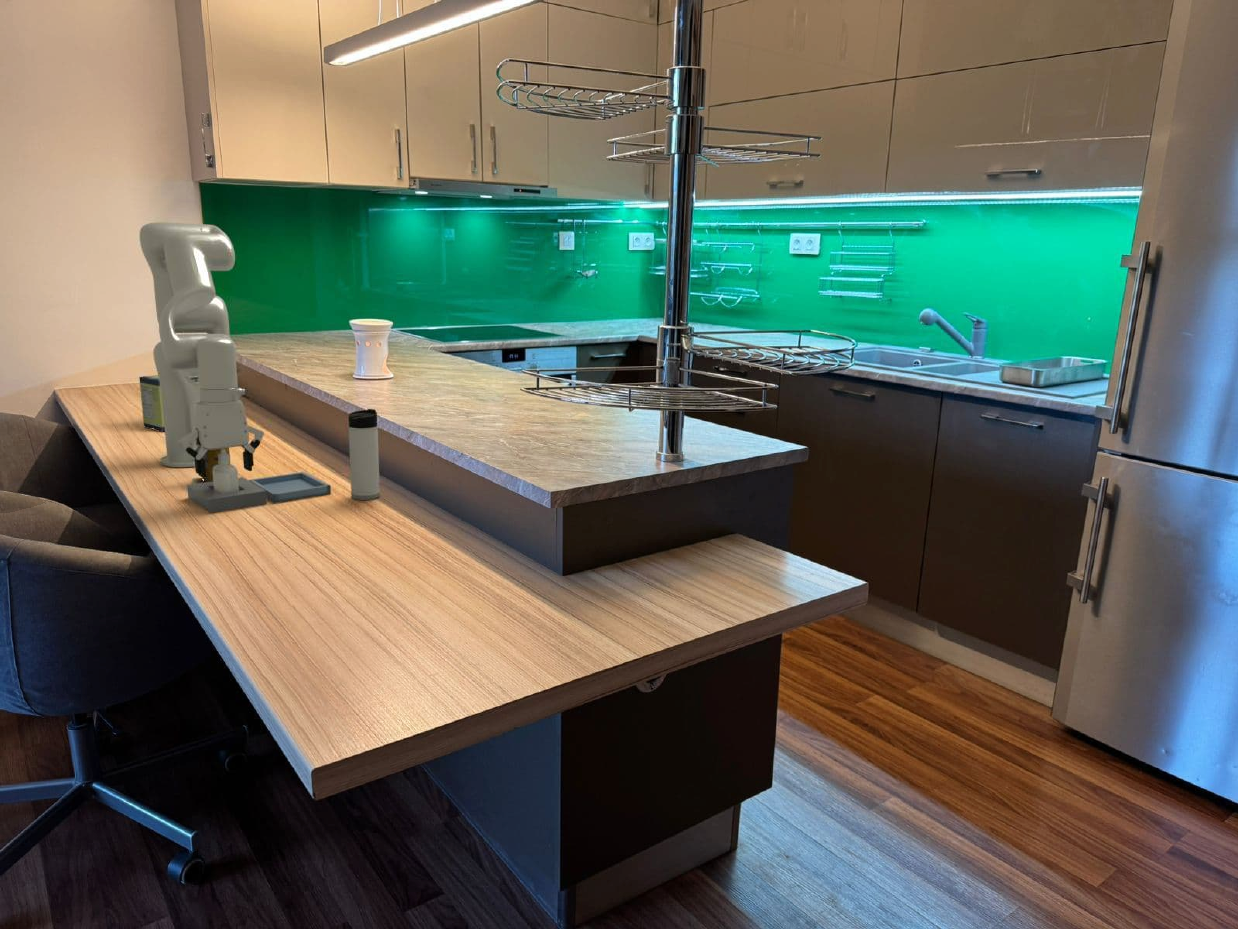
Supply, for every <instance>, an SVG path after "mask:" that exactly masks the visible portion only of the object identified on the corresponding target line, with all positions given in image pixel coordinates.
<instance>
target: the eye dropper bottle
mask: <svg viewBox="0 0 1238 929" xmlns="http://www.w3.org/2000/svg"><path fill="white" fill-rule="evenodd" d="M238 478H239V473H238V469H237V467H235V466H234V465H232V464H231V454H228V453H226V450H225V448H222V449H221V453H220V454H218V465H216V466H214V467H213V484H214V491H216V492H217V493H219V494H221V493H228V492H234V491H239V483H238Z"/></svg>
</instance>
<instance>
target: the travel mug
mask: <svg viewBox="0 0 1238 929" xmlns="http://www.w3.org/2000/svg"><path fill="white" fill-rule="evenodd" d="M378 429H379V428H378V412H377V411H376V409H374V408H373V409H371V408H368V409H364V410H363V409H361V410H356V411H352V412H350V413H349V414H348V444H349V469H350V490H351V492H350V495H351V498H352V499H354V500H357V501H371V500H372V501H373V500H376V499H378V498H379V497H380V496H381V495H380V492H381V491H380V490H381V489H380V467H379V466H380V464H379V432H378V431H379V430H378ZM377 497H378V498H377ZM375 498H376V499H375Z"/></svg>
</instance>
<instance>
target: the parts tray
mask: <svg viewBox="0 0 1238 929" xmlns="http://www.w3.org/2000/svg"><path fill="white" fill-rule="evenodd" d="M248 481H250V482H252V483H253V484H255V485H257V486H259V487H260V488H262V489H264V490H265V491H266V498H267V501H268V500H269V501H270V502H272V503H273V504H278V503H286V502H290V501H291V502H292V501H296V500H302V499H308V498H309V499H310V498H313V497H319V496H320V497H321V496H326V495H332V488H331V484H328V483H326V482H324V481H322V480H320V479H318V478H316V477H314V476H313V475H311V474H308V473H307V472H304V471H301V472H294V473H287V474H280V475H273V476H266V477H259V478H252V479H248Z"/></svg>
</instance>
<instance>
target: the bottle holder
mask: <svg viewBox="0 0 1238 929" xmlns="http://www.w3.org/2000/svg"><path fill="white" fill-rule="evenodd" d="M238 483H239V491H234V492H228V493H221V494H219V493H217V492H216V491H214V484H213V481H212V482H205V483H198V484H194V483H193V484H187V485H186V487H187V488H186V489H187V499H189V500H190V501H191V500H192V501H191V502H193V503H194V504H196V505H197V506H198V507H200V508H202V509H203V510H204V511H205V512H207V513H208V514H215V513H222V512H226V511H233V510H238V509H244V507H245V508H250V507H257V506H263V505H267V504H268V503H267V502H268V499H267V498H266V491H265V490H264V489H262V488H260V487H259V486H257V485H255V484H253V483H252V482H250V481H249V479H247V478H245V477H243V476H241V477H238Z"/></svg>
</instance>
